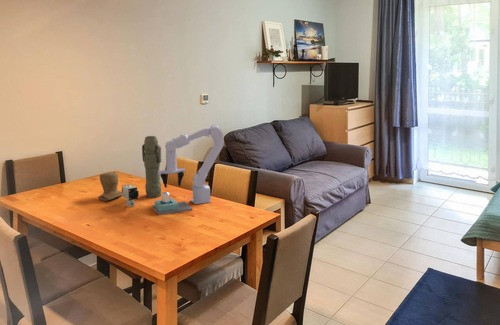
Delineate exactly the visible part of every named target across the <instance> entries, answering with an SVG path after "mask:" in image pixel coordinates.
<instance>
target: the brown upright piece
mask: <svg viewBox="0 0 500 325" xmlns="http://www.w3.org/2000/svg"><path fill="white" fill-rule="evenodd" d="M99 182H100V185H101V187H102V189H103V193H102V194H100V195H99V196H97V197H98V199H99V200H101V201H103V202H107V201H111V200H113V199H115V198H116V199H117V197H118V198H119V197H121V196H123V194H122V191H119V190H118V185H119V177H118V173H117V172H116V171H110V172H103V173H100V174H99Z"/></svg>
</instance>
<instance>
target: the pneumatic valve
mask: <svg viewBox="0 0 500 325" xmlns="http://www.w3.org/2000/svg"><path fill="white" fill-rule="evenodd" d="M121 192H122V197H123V198H125V199H126V200H125V202H126V206H127V208H128V207H129V208H130V207H135V206H136V203H135V200H138V199H139V190H138V187H137V186H136V185H132V184H130V183H129V184H123V185H121Z"/></svg>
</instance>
